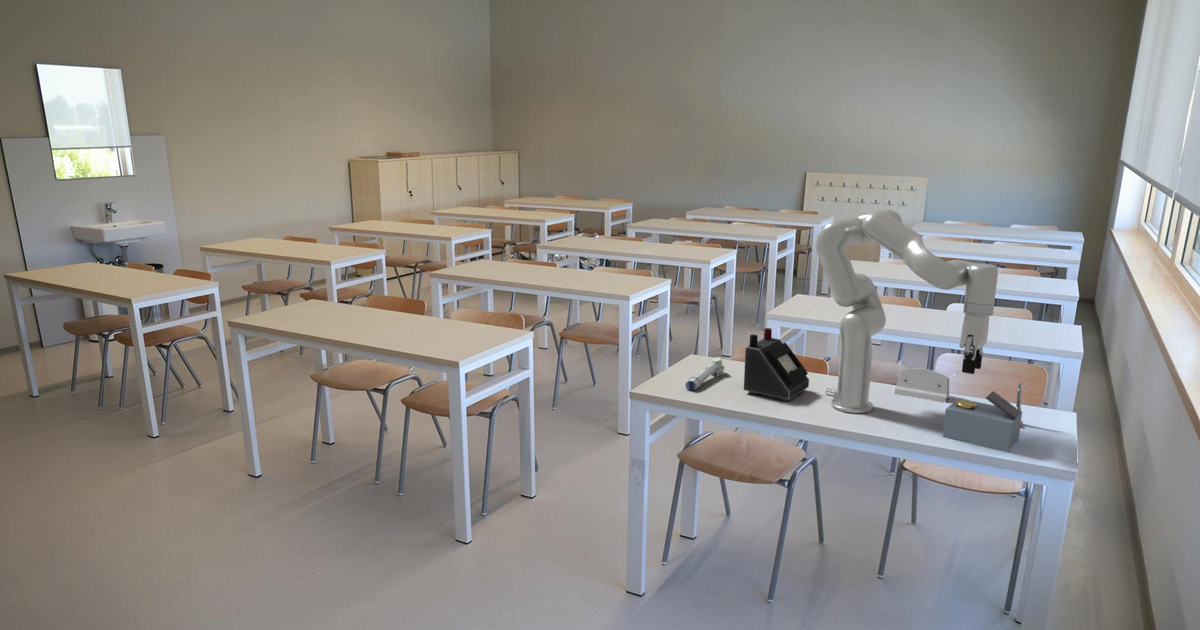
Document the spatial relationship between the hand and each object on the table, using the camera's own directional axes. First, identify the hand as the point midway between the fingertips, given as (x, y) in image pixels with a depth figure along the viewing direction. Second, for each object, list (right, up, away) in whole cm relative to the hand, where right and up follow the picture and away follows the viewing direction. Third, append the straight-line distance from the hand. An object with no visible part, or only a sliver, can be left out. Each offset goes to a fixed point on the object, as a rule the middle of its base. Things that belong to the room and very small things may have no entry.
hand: (971, 369), depth 219 cm
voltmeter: (-46, -11, +41) cm, 62 cm away
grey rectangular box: (+3, -20, +2) cm, 20 cm away
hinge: (+2, -11, +38) cm, 40 cm away
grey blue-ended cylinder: (-68, -8, +52) cm, 86 cm away
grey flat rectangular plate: (+7, -10, -4) cm, 13 cm away
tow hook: (+16, -17, +14) cm, 27 cm away
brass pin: (0, -19, +5) cm, 19 cm away
